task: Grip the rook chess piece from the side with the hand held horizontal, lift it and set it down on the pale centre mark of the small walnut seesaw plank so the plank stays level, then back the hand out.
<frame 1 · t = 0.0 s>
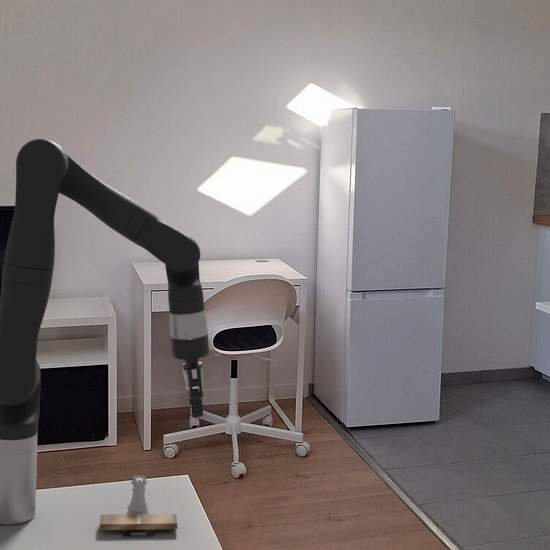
hand: (196, 410, 172), 22 cm above the table, tool pointing down, fingers open, 8 cm apart
rook chess piece: (137, 515, 173), on the table
beam: (138, 521, 166), point 2 cm above the table, hinge at 0.0°
fulcrum: (138, 529, 166), on the table
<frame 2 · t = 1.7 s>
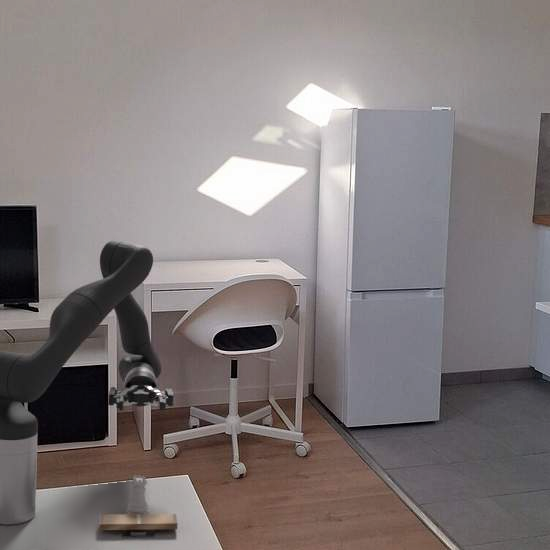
hand: (141, 406, 181), 20 cm above the table, tool horizontal, fingers open, 8 cm apart
nothing on the table moved.
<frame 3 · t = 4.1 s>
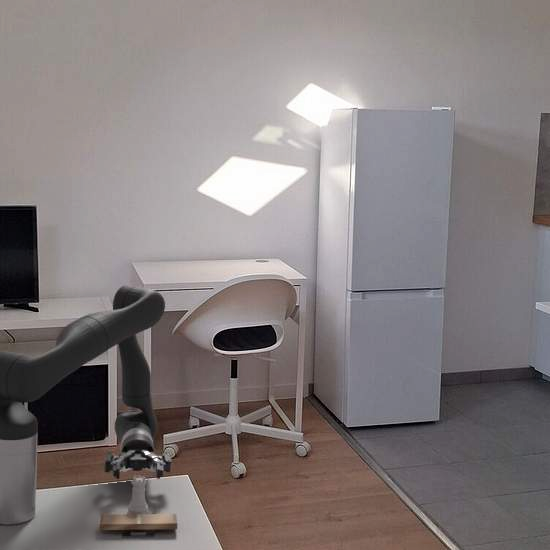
hand: (138, 474, 177), 7 cm above the table, tool horizontal, fingers open, 8 cm apart
nothing on the table moved.
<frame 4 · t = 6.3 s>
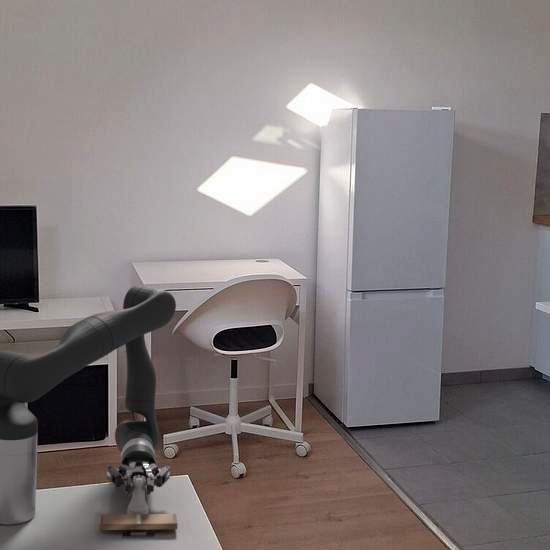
hand: (139, 489, 169), 7 cm above the table, tool horizontal, fingers closed on rook chess piece, 3 cm apart
rook chess piece: (137, 515, 173), on the table, touching gripper
everything else where it was.
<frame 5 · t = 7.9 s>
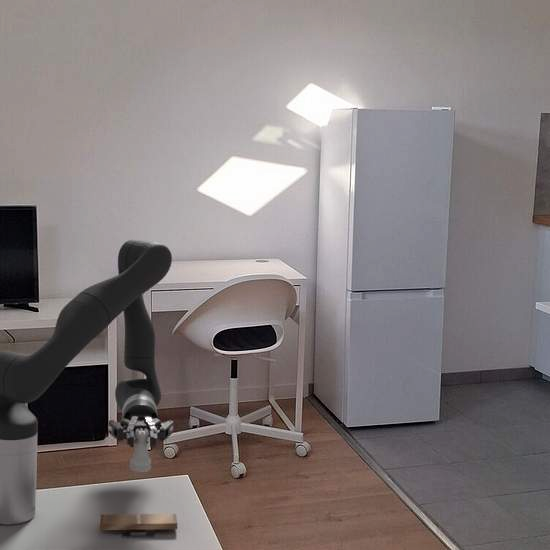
hand: (142, 442, 164), 18 cm above the table, tool horizontal, fingers closed on rook chess piece, 3 cm apart
rook chess piece: (140, 469, 168), point 11 cm above the table, touching gripper
everything else where it was.
when the fingers open (10 cm above the table, at t = 9.9 s): rook chess piece stays where it is, resting on beam.
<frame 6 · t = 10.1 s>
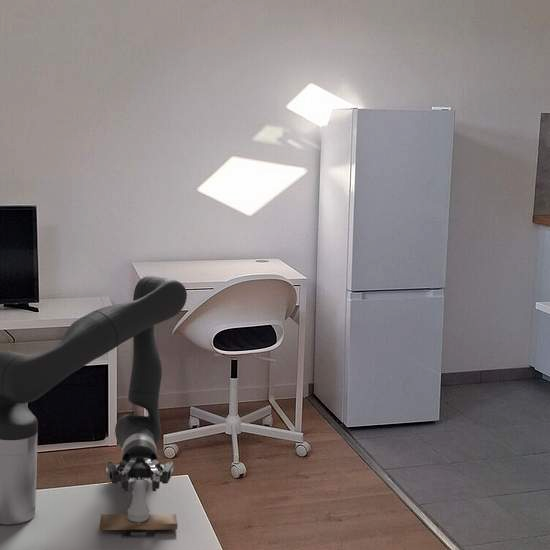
hand: (140, 486, 162), 10 cm above the table, tool horizontal, fingers open, 4 cm apart
rook chess piece: (138, 519, 166), point 2 cm above the table, touching beam
beam: (138, 521, 166), point 2 cm above the table, hinge at 0.3°, touching rook chess piece
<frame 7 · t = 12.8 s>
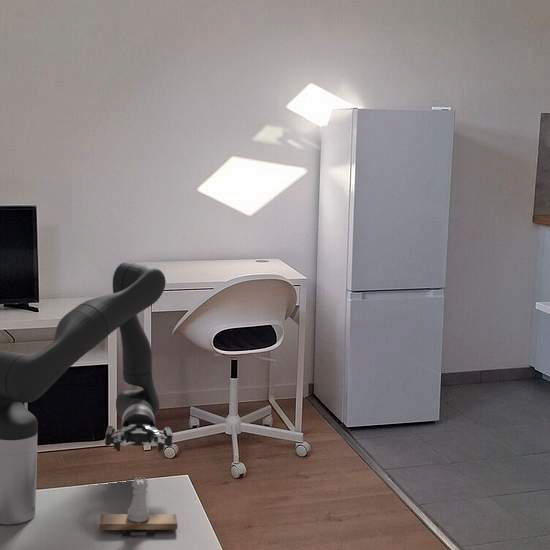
hand: (139, 447, 176), 13 cm above the table, tool horizontal, fingers open, 8 cm apart
nothing on the table moved.
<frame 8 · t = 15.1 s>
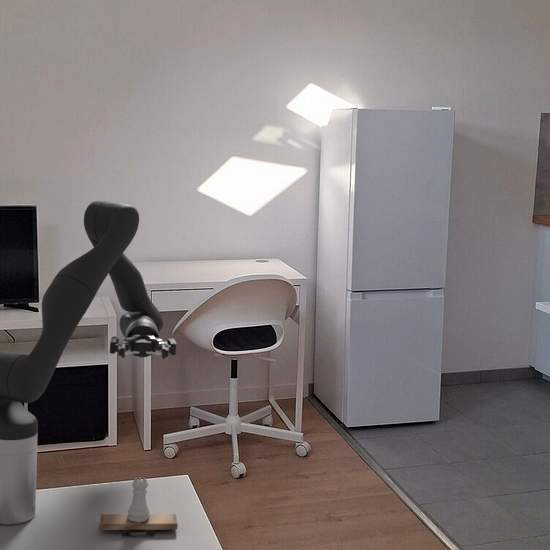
hand: (143, 353, 177), 32 cm above the table, tool horizontal, fingers open, 8 cm apart
nothing on the table moved.
at the end: rook chess piece inside the target area on the beam (0.2 cm from its centre), point 0.4 cm above the beam's base; rook chess piece tilted 0°; beam at +0° (first picture: +0°) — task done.
